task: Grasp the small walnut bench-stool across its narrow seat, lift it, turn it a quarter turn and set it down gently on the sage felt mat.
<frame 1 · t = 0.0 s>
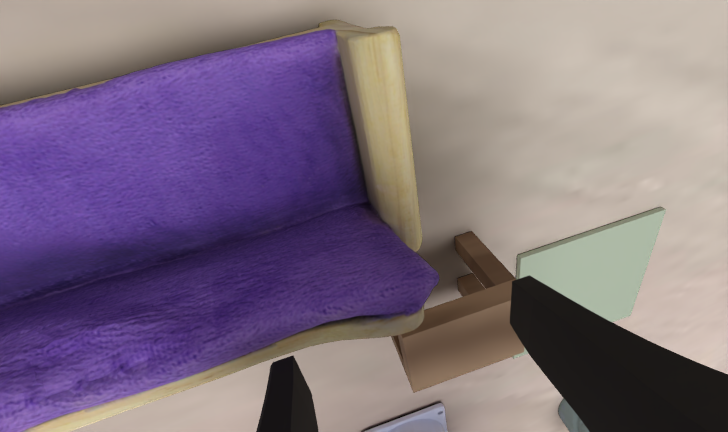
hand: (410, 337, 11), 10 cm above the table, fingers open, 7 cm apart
mat: (579, 287, 30), on the table
toy sofa: (156, 163, 17), on the table
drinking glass: (591, 394, 42), on the table
stool: (425, 275, 25), on the table
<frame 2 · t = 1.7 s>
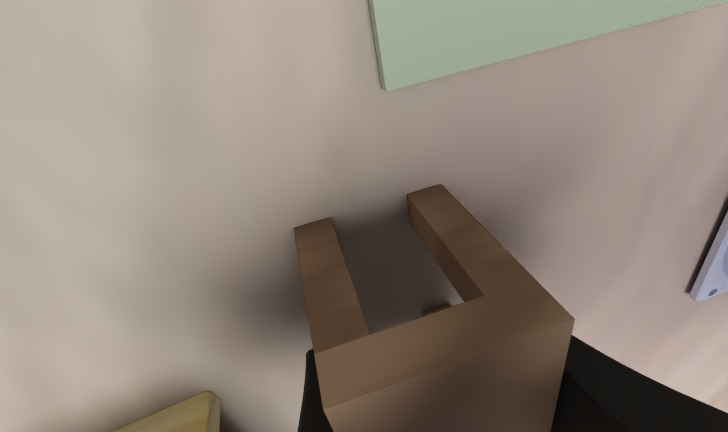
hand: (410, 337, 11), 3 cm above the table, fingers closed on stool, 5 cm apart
stool: (385, 283, 13), on the table, touching gripper
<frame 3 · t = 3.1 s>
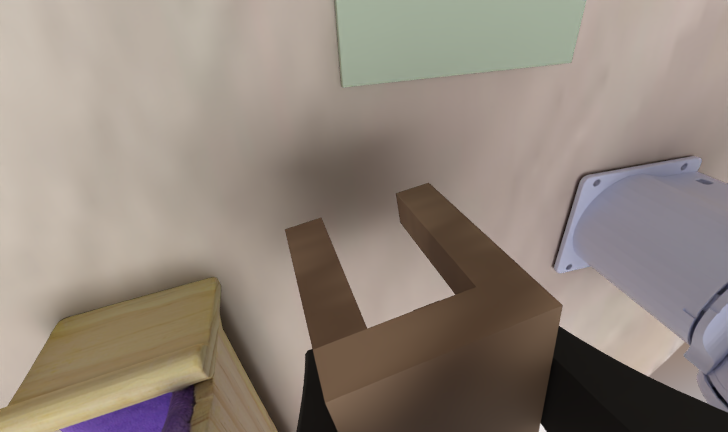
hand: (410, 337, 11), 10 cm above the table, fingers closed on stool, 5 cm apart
toy sofa: (209, 390, 25), on the table
stool: (376, 281, 14), point 7 cm above the table, touching gripper
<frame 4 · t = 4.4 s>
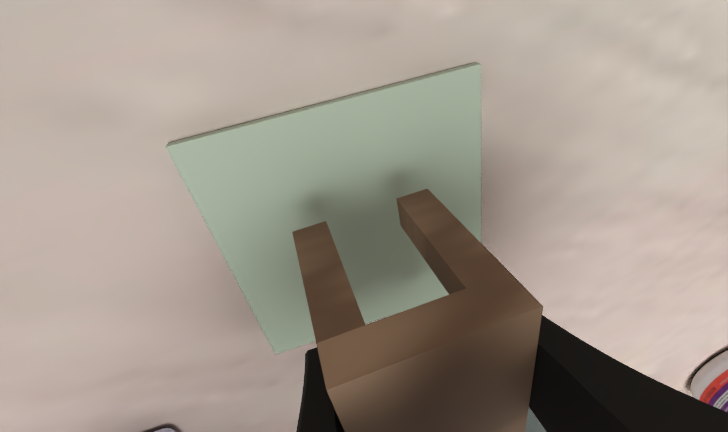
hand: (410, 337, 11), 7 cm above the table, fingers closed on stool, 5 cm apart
mat: (359, 227, 17), on the table
pill bottle: (716, 364, 37), on the table
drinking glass: (466, 408, 29), on the table
stool: (377, 280, 14), point 3 cm above the table, touching gripper
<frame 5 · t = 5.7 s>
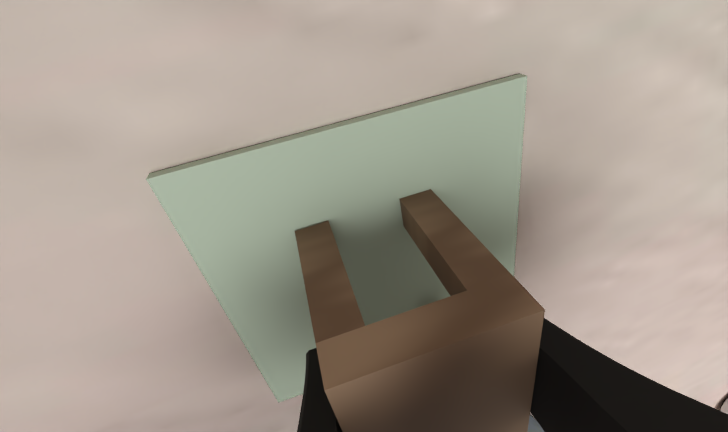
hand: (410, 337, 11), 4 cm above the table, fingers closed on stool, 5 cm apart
mat: (376, 263, 14), on the table
stool: (380, 281, 14), resting on mat, touching gripper
when the fingers open (4 cm above the table, at t = 5.8 s): stool stays where it is, resting on mat.
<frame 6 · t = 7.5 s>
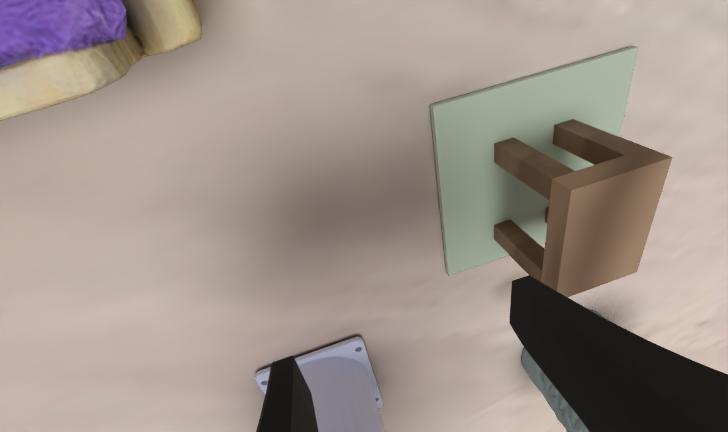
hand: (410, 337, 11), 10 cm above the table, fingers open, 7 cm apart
mat: (527, 172, 22), on the table
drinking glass: (561, 340, 34), on the table
stool: (530, 183, 22), resting on mat
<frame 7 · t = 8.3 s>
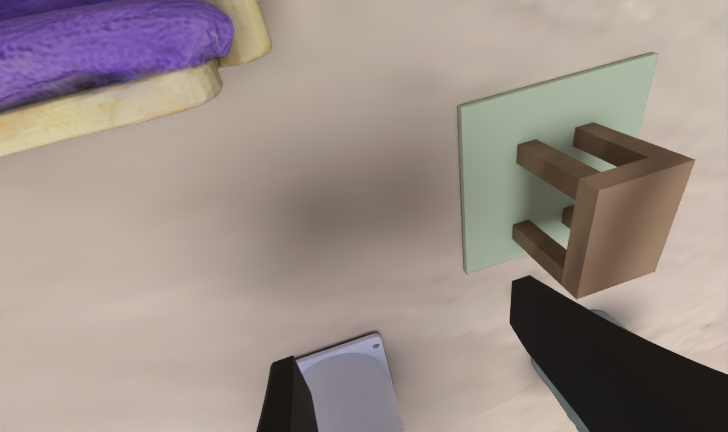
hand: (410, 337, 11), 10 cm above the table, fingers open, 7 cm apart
mat: (547, 174, 23), on the table
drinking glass: (571, 340, 35), on the table
stool: (549, 184, 23), resting on mat
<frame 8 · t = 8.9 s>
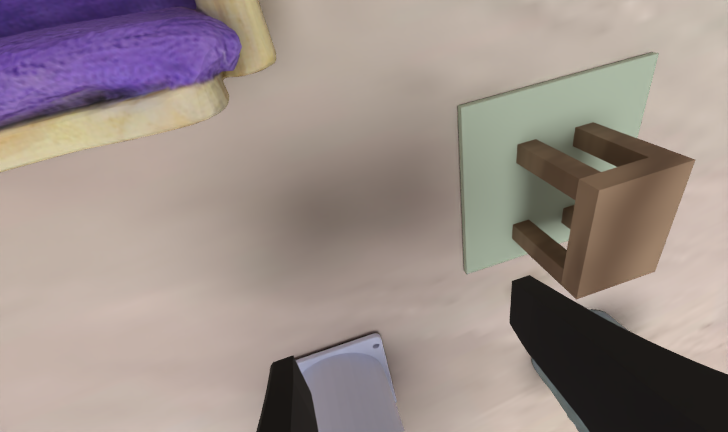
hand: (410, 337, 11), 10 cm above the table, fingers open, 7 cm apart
mat: (547, 174, 23), on the table
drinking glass: (571, 340, 35), on the table
stool: (549, 184, 23), resting on mat
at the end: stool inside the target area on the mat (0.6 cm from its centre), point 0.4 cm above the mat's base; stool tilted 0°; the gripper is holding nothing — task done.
